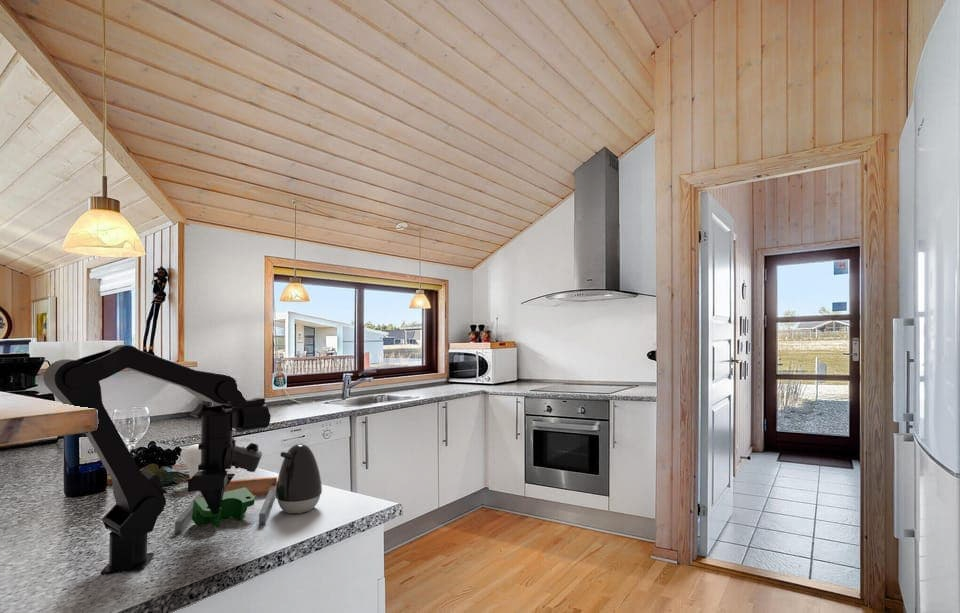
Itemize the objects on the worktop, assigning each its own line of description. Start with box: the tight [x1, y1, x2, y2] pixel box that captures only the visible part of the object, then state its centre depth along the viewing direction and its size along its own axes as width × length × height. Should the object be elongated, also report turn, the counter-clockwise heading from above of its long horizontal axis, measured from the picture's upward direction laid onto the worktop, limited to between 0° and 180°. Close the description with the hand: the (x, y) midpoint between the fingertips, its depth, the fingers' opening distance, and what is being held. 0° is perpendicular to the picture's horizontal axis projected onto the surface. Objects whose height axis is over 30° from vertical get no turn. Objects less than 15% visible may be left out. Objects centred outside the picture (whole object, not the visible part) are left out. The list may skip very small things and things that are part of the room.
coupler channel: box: [174, 476, 278, 535], centre depth 124 cm, size 24×17×4 cm
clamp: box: [191, 487, 256, 529], centre depth 117 cm, size 12×6×9 cm, turn 133°
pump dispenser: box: [275, 443, 323, 515], centre depth 124 cm, size 10×10×15 cm
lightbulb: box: [182, 443, 203, 480], centre depth 144 cm, size 6×6×11 cm
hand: (215, 513), depth 108 cm, fingers closed
